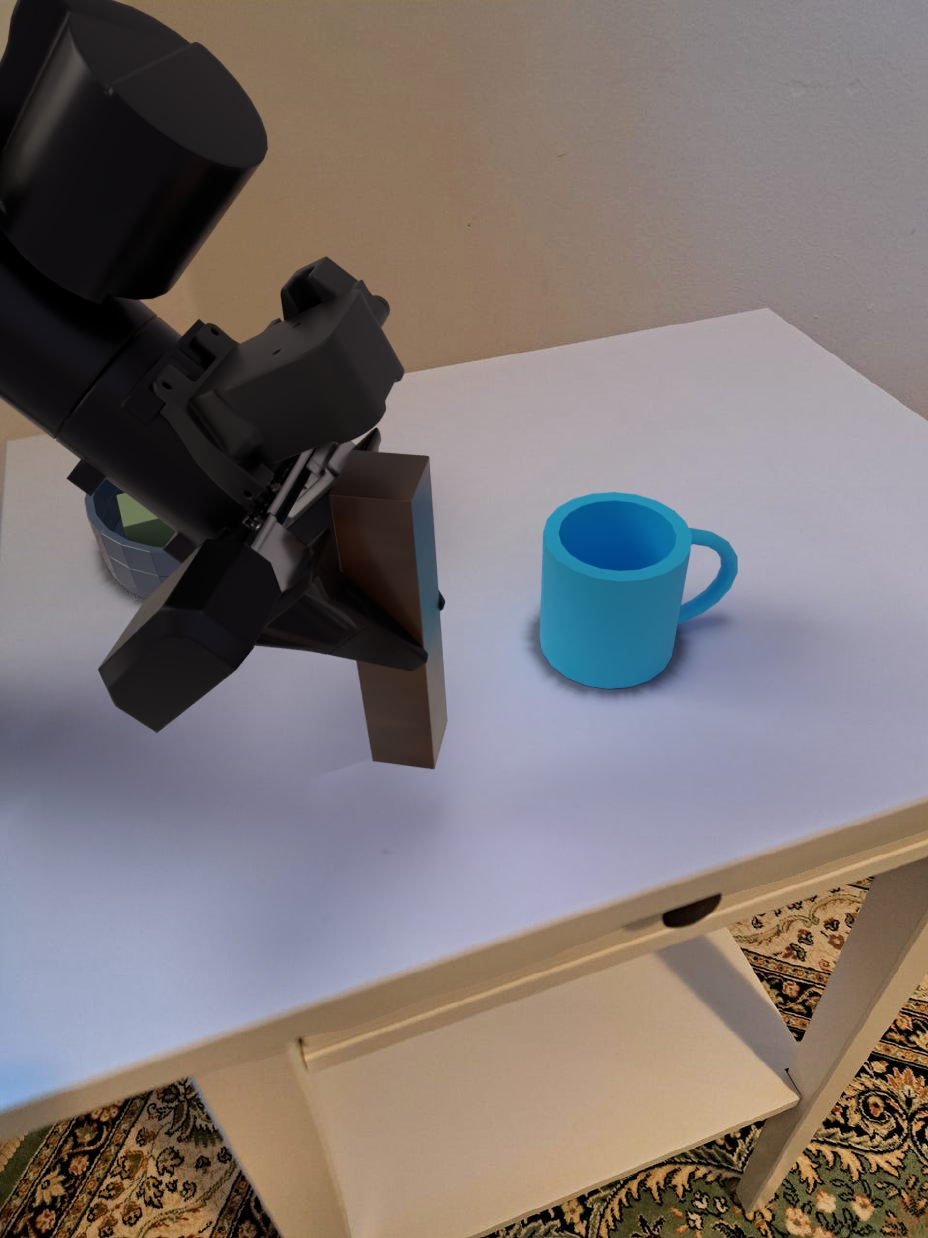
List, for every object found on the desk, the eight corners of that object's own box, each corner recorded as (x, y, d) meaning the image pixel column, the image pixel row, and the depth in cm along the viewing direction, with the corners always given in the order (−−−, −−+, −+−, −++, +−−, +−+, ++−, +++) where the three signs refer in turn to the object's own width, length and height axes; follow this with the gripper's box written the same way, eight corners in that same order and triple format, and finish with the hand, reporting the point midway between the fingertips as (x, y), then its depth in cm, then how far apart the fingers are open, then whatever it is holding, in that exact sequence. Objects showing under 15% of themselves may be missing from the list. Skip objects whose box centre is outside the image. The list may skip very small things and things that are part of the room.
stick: (372, 761, 41) (328, 494, 31) (388, 713, 43) (351, 448, 33) (434, 770, 41) (411, 501, 31) (447, 721, 43) (429, 454, 33)
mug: (563, 700, 51) (569, 593, 45) (523, 609, 57) (525, 504, 51) (755, 661, 53) (784, 554, 47) (697, 577, 58) (717, 472, 53)
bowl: (120, 637, 56) (98, 583, 53) (94, 496, 68) (74, 446, 65) (376, 564, 61) (369, 510, 58) (310, 444, 72) (301, 395, 69)
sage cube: (140, 574, 60) (123, 526, 57) (133, 541, 63) (116, 494, 60) (199, 558, 61) (185, 511, 58) (189, 527, 64) (175, 480, 61)
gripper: (66, 357, 20) (542, 736, 26) (319, 131, 33) (594, 412, 39) (-85, 589, 26) (320, 849, 32) (177, 322, 40) (430, 539, 46)
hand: (430, 636), depth 37 cm, fingers closed on stick, 3 cm apart
